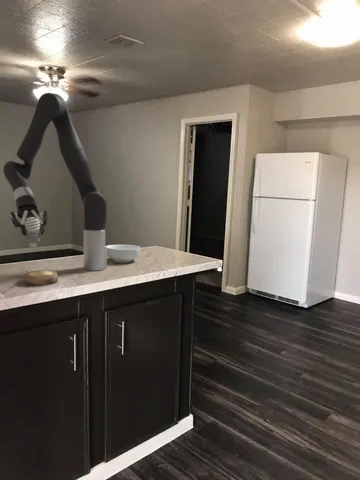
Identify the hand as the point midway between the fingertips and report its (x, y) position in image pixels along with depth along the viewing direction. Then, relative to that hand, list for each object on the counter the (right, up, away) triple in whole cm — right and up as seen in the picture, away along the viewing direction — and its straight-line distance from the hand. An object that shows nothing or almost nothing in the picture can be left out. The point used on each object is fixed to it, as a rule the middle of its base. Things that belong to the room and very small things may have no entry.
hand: (33, 233), depth 150 cm
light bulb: (-1, -6, +2) cm, 6 cm away
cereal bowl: (+28, -13, +41) cm, 51 cm away
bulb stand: (+3, -18, -2) cm, 18 cm away
